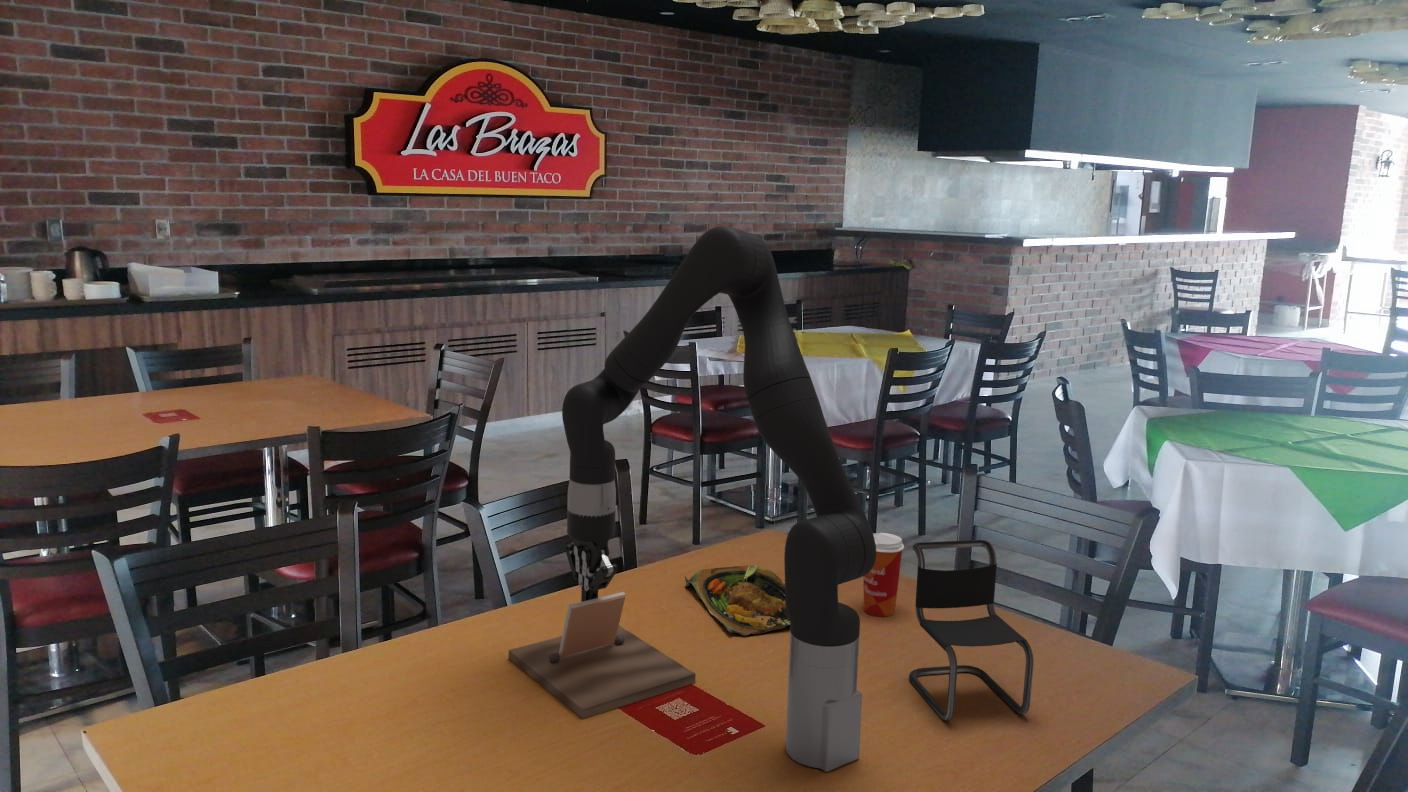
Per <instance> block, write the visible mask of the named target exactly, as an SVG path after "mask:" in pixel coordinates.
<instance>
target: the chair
mask: <svg viewBox="0 0 1408 792" xmlns="http://www.w3.org/2000/svg"><path fill="white" fill-rule="evenodd" d="M977 547H978V548H979V547H980V548H981V547H982V548H985V549H986V551H987V553H988V558H989V562H988V563H989V564H988V565H987V566H983V567H977V568H970V569H968V568H967V569H966V568H965V569H959V570H957V569H955V570H952V569H951V570H947V569H946V570H942V569H941V570H939V569H928V568H926V562H925V561H926V560H925V554H924V552H923V550H937V549H959V548H960V549H961V548H977ZM912 550H913V551H914V553H915V554H916V559H917V575H916V589H915V590H916V593H915V604H914V606H915V614H916V618H917V621H918V623H919V626H920V627H921V628H922V629H923V630H924V631H925V632H926V633H927V634H928V635H929V636H930V637H931V638H932V639H933V640H934V641H935V643H937V644H938V645H939V646H940V647H941V648H942V649H943V650H944V652H946V655H947V657H948V661H949V665H947V666H933V667H932V666H931V667H930V666H929V667H919V668H916V669H913V670H911V671H910V672H909V675H908V680H909V681H910V683H911V685H913V686H914V688H916V690H917V691H918V693H920V695H921V696H922V697H923V698H924V699H925V700H926V702H927V703H928V704H929V705H930V706H931V708H932V709H933V710H934V711H935V713H936V714H937V715H938V716H939V717H940V718H941V719H942V720H943V721H946V722H947V721H950V720H952V718H953V717H954V714H955V707H956V693H957V679H958V677H957V676H958V673H971V674H974V675H976V676H979V677H980V678H981V679H982V680H983V681H984V682H985V683H986V684H988V686H989V687H990V688H991V689H993V691H994V692H996V694H997V695H998V696H999V697H1000V698H1001V699H1002V700H1003V701H1004V702H1005V703H1006V704H1007V705H1008V706H1009V707H1010V708H1012V710H1013V711H1014V712H1016V713H1017V715H1025V714H1027V713H1028V711H1029V710H1030V707H1031V699H1032V687H1033V673H1034V653H1033V649H1032V647H1031V644H1030V643H1029V641H1028V640H1027V639H1026V638H1025V637H1023V636H1022V635H1021V634H1020V633H1019V632H1017V631H1016V630H1015V629H1014V628H1013V627H1011V625H1010V624H1008V622H1006V621H1005V620H1004V619H1003V618H1001V617H1000V616H999V615H998V614H997V612H996V609H995V604H994V603H995V592H996V579H997V569H998V568H997V566H998V563H997V554H996V549H995V548H994V546H993V544H992V543H990V542H989V541H987V540H983V539H971V540H970V539H969V540H951V541H949V540H947V541H946V540H945V541H927V542H926V541H925V542H915V543H914V544H913V545H912ZM980 606H986V609H987V612H988V616H984V617H979V618H973V619H960V620H933V619H928V618H927V619H926V618H925V614H924V609H957V608H958V609H959V608H960V609H961V608H971V607H972V608H973V607H980ZM1011 643H1017V644H1018V646H1020V647H1021V648H1022V649H1023V652H1024V655H1025V668H1024V669H1025V670H1024V679H1023V680H1024V681H1023V692H1022V693H1023V694H1022V704H1021V706H1020V705H1019V703H1017V701H1015V700H1014V698H1013V697H1012V696H1010V695H1009V694H1008V692H1006V691H1005V690H1004V689H1003V687H1002V686H1001V685H999V684H998V683H997V682H996V681H995V680H994V679H993V678H992V677H991V676H990V675H989V673H987V672H986V671H984V670H983V669H981V668H979V667H976V666H972V665H967V664H966V665H965V664H964V665H963V664H962V665H961V664H960V665H958V659H957V655H956V652H955V649H954V648H953V646H956V647H991V646H1001V645H1005V644H1011ZM938 674H939V675H940V674H941V675H942V674H948V687H947V701H946V702H947V703H946V704H947V705H946V706H947V707H946V711H945V710H944V709H943V707H942V706H941V705H940V704H939V702H938V701H937V700H936V699H935V698H934V697H933V696H932V694H930V692H929V691H928V690H927V689H926V687H924V685H923V684H922V683H921V681H919V679H918V678H917V677H918V676H924V675H927V676H928V675H938Z"/></svg>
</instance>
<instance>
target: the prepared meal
mask: <svg viewBox="0 0 1408 792" xmlns="http://www.w3.org/2000/svg"><path fill="white" fill-rule="evenodd" d="M684 579H685V586H684V588H688V587H689V586H692V587H693V588H694V590H695V592H696V595H697V596H698V598H699V599H700V600H701V601H702V602H703V604H704V605H705V607H706V609H707V611H708V612H709V613H710V614H711V615H712V616H714V618H716V619H717V620H718V621H719V622H720V623H719V624H720V625H721V626H722V627H723V628H725V630H726V631H727V632H729V633H730V634H738V635H741V636H745V637H746V636H747V637H749V636H752V635H762V634H766V633H768V632H770V631H776V630H781V629H785V628H786V627H787V626H790V619H789V615H788V612H787V608H786V603H785V582H783V580H782V579H781V578H780V577H779V576H778V575H777V574H776V573H775V572H774V571H773V570H771V569H770V570H769V569H764V568H762V567H760V566H758V565H756V564H753V565H751V564H750V565H748V564H747V565H736V566H735V565H733V566H725V567H724V566H723V567H714V568H704V569H703V568H702V569H701V570H698V571H697V572H695V573H694V574H693V575H692V576H691V577H690V578H689V579H688V578H687V577H686V575H684ZM758 616H759V617H769V618H767V621H766V624H764V622H761V621H765V619H764V618H761V621H759V620H758V619H757V618H758ZM779 620H780V621H779ZM767 626H768V627H767Z"/></svg>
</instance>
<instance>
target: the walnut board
mask: <svg viewBox="0 0 1408 792" xmlns="http://www.w3.org/2000/svg"><path fill="white" fill-rule="evenodd" d="M561 639H562V635H561V636H556V637H554V638H550V639H545V640H543V641H538V642H534V643H531V644H526V645H523V646H520V647H514V648H512V649H508V659H509V660H510V661H511V662H512V663H513V664H514V665H516V666H517V667H518V668H520V669H521V670H522V671H523V672H525V673H526V674H527V675H528V676H529V677H531V678H532V679H533V680H534V681H535V682H537V683H538V684H539V685H540V686H542V687H543V688H544V689H546V690H547V691H548V692H549V693H550V694H551V695H553V696H554V697H555V698H557V699H558V700H559V701H560V702H561V703H562V704H564V705H565V706H566V707H568V708H569V709H570V710H572V712H573V713H575V715H577V716H579V717H580V718H581V719H582V720H584V719H587V718H591V717H594V716H596V715H600V714H603V713H607V712H609V711H612V710H616V709H619V708H622V707H625V706H627V705H631V704H633V703H634V704H635V703H637V702H640V701H644V700H646V699H649V698H652V697H656V696H658V695H663V694H665V693H668V692H671V691H674V690H678V689H680V688H683V687H686V686H689V685H690V686H691V685H692V684H696V674H697V673H695V672H693V670H692V671H691V670H690V669H689V668H687V667H686V666H684V665H682V664H681V663H680V662H678V661H676V660H675V659H673V658H671V657H670V656H668V655H666V654H665V653H664V652H662V651H660V650H658V649H657V648H656V647H653V645H651V644H649V643H648V642H646V641H645V640H643V639H641V638H640V637H638V636H637V635H635V634H633V633H632V632H630V631H629V630H627V629H625V628H624V627H622V626H621V625H619V626H618V630H617V634H616V638H615V643H611V644H608V645H604V646H600V647H597V648H593V649H590V650H586V651H582V652H579V653H575V654H572V655H568V656H564V657H560V656H559V649H560V644H561Z"/></svg>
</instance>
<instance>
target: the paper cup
mask: <svg viewBox="0 0 1408 792" xmlns="http://www.w3.org/2000/svg"><path fill="white" fill-rule="evenodd" d="M873 535H874V539H875V544H876V560H875V564H874V566H873V568H872V570H871V571H870V572H869V573H868V574H867V575H865V576H863V577H862V579H863V609H864V612H865V613H866V614H868V615H870V616H873V617H879V618H881V617H882V618H884V617H891V616H893V615H895V611H896V603H897V598H898V589H899V580H900V571H901V562H902V556H903V555H902V553H903V550H904V549H905V545H904V544H903V539H902V538H901V537H900V536H898V535H896V534H892V533H887V532H878V533H876V532H875V533H873Z"/></svg>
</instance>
